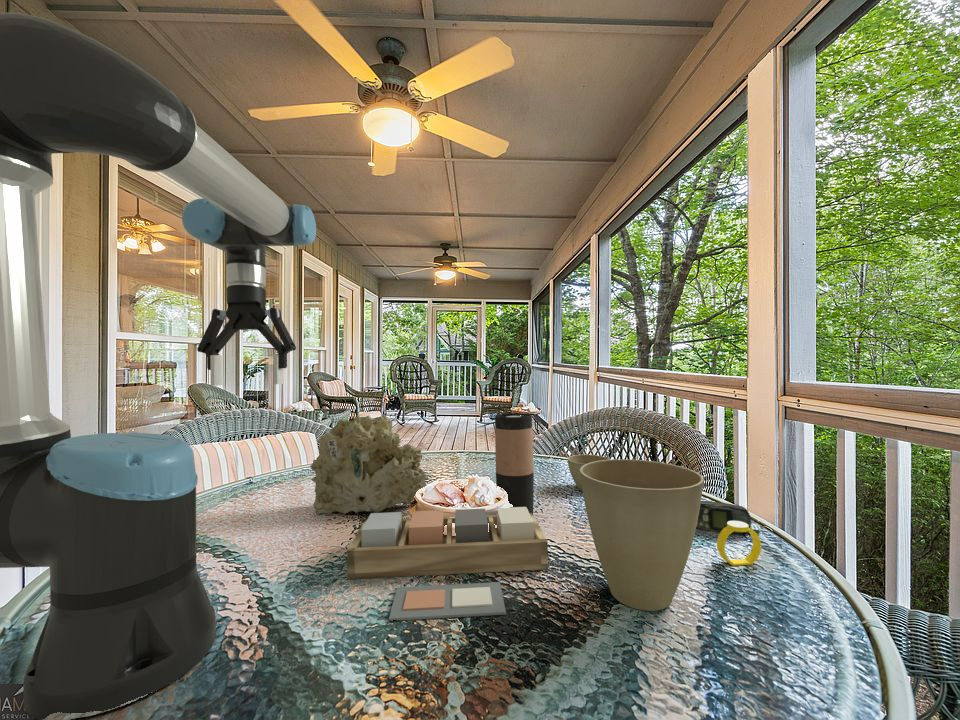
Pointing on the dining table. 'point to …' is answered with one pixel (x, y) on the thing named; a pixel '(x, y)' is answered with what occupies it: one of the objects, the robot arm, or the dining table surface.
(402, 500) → the coral
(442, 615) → the card
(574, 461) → the flower pot
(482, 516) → the grey rectangular block
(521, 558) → the wooden compartment tray
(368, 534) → the key bluegrey
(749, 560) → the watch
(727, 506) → the mobile phone
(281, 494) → the dining table surface
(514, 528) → the cream rectangular block
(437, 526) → the key terracotta
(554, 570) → the dining table surface
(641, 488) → the plant pot
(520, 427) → the travel mug
